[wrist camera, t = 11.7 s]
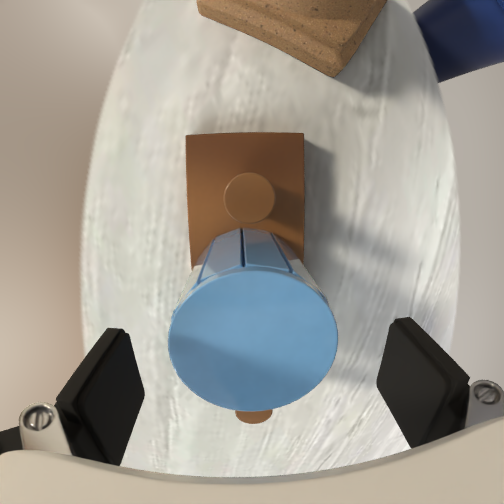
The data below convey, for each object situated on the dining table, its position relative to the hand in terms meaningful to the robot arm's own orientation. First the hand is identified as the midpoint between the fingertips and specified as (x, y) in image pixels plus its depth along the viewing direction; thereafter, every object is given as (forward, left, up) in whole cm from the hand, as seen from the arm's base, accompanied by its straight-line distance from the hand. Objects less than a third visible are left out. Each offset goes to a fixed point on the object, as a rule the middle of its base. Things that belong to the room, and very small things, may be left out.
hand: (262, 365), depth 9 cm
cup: (0, 0, -9) cm, 9 cm away
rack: (0, 0, -11) cm, 11 cm away
